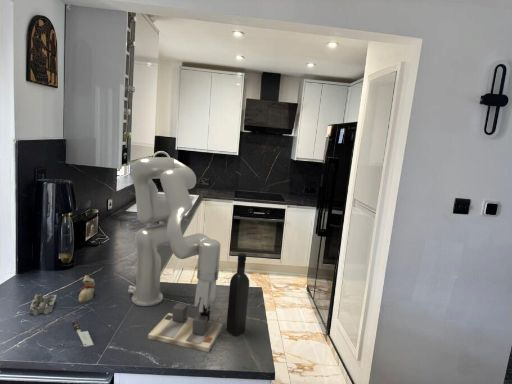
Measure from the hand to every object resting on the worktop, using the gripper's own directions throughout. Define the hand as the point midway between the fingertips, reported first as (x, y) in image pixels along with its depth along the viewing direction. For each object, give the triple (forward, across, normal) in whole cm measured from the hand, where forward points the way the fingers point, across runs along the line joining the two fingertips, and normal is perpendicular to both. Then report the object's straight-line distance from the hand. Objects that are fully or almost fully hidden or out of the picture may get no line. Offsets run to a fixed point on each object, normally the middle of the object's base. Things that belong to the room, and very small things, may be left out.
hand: (204, 320), depth 123 cm
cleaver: (+4, +15, -38) cm, 41 cm away
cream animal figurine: (+4, -5, -53) cm, 53 cm away
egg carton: (+4, +7, -62) cm, 63 cm away
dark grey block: (+2, -1, -10) cm, 10 cm away
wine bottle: (+4, -3, +11) cm, 12 cm away
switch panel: (+4, +4, -5) cm, 7 cm away
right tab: (+2, +4, 0) cm, 5 cm away
